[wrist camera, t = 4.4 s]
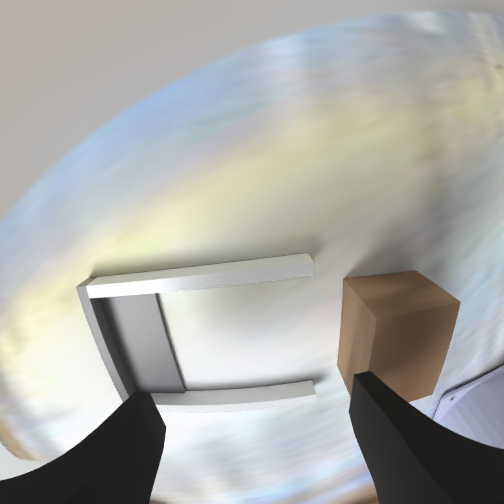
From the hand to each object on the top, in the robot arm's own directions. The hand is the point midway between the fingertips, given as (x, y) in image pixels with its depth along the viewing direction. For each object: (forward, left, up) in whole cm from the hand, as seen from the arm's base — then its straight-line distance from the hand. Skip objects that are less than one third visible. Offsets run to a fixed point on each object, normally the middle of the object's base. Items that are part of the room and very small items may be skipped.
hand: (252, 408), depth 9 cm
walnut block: (-6, 0, -5) cm, 8 cm away
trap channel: (+2, 0, -5) cm, 5 cm away
